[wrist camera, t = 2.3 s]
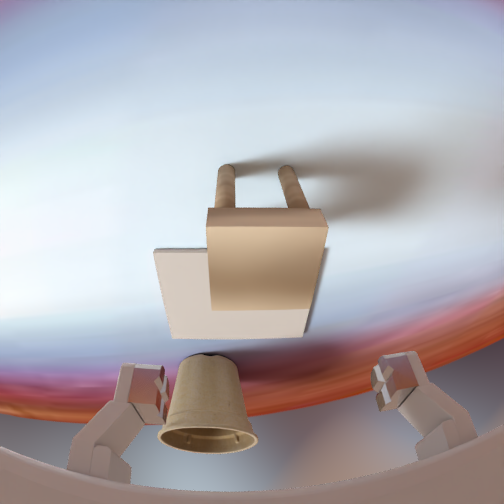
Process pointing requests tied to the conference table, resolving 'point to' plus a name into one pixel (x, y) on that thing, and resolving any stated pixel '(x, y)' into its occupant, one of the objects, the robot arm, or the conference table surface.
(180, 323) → the mat
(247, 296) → the stool
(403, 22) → the conference table surface
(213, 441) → the flower pot
